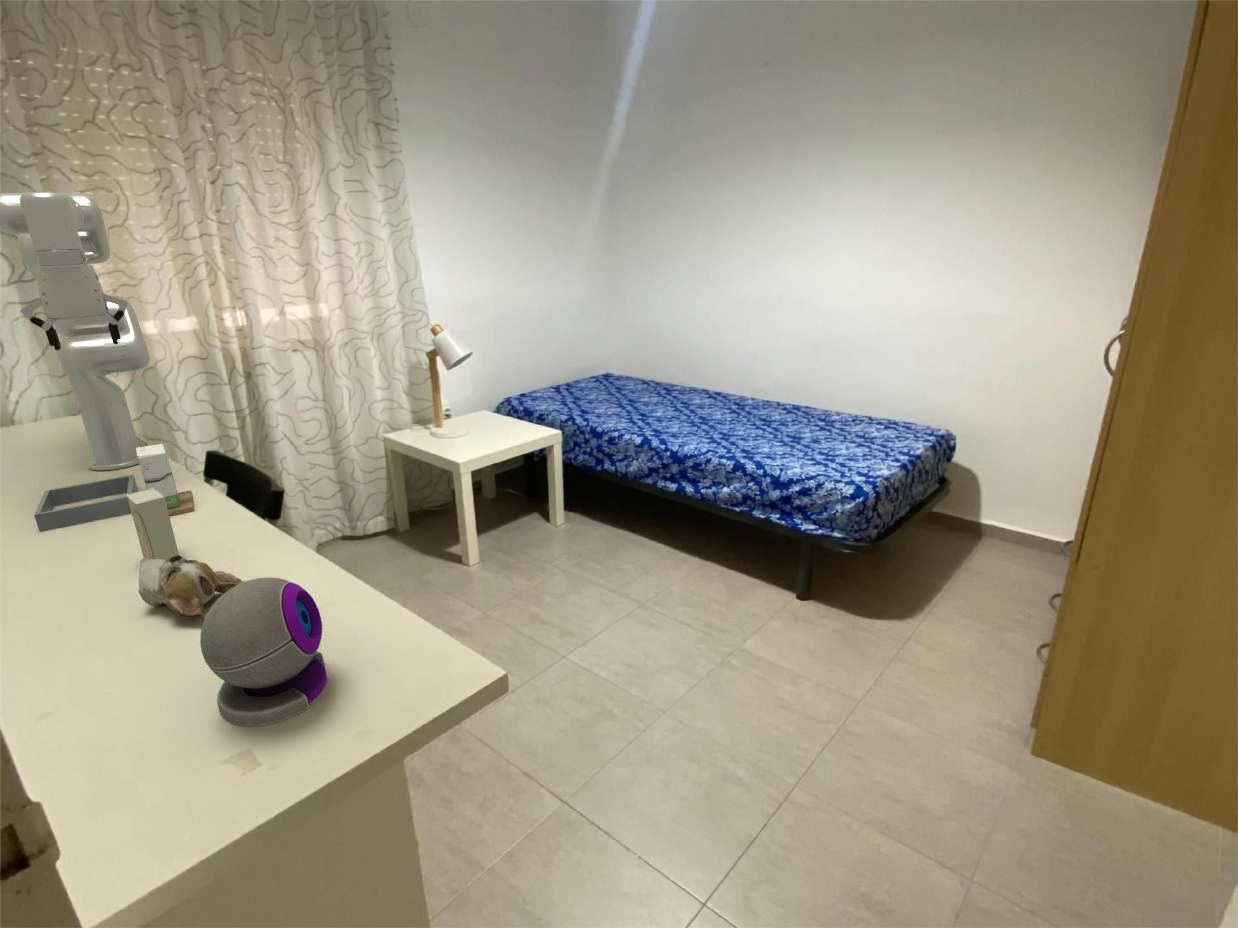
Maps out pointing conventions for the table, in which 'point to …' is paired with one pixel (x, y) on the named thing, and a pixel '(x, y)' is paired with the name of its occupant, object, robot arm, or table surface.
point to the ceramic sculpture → (182, 584)
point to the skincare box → (153, 524)
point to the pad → (183, 504)
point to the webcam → (264, 651)
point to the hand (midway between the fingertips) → (87, 346)
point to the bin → (86, 512)
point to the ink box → (158, 472)
